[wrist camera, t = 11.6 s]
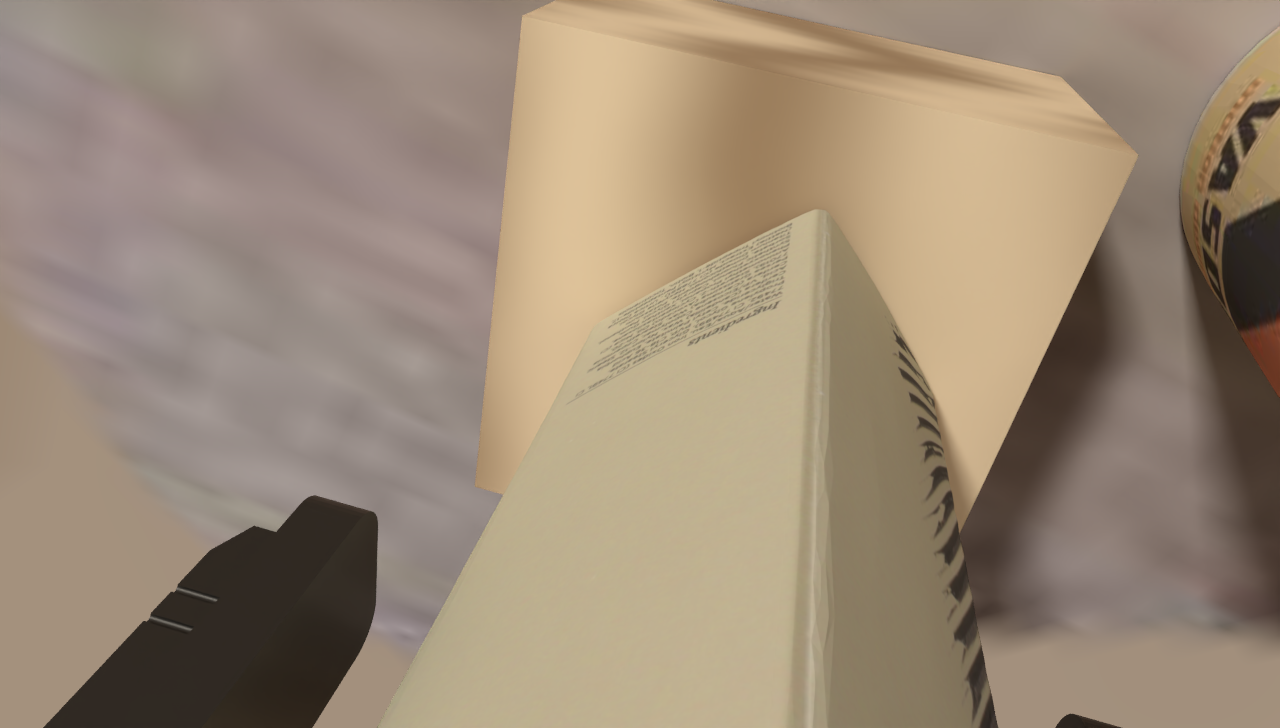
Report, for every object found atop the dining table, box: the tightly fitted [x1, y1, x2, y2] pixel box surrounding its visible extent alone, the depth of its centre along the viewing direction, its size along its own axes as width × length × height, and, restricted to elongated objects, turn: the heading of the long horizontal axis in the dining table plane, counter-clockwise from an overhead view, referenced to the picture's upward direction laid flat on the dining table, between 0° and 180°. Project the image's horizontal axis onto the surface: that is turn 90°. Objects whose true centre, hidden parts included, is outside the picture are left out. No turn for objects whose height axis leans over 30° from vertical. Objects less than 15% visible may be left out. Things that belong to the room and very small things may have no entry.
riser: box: [475, 0, 1139, 534], centre depth 19 cm, size 10×10×6 cm
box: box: [377, 209, 998, 728], centre depth 11 cm, size 5×4×13 cm
